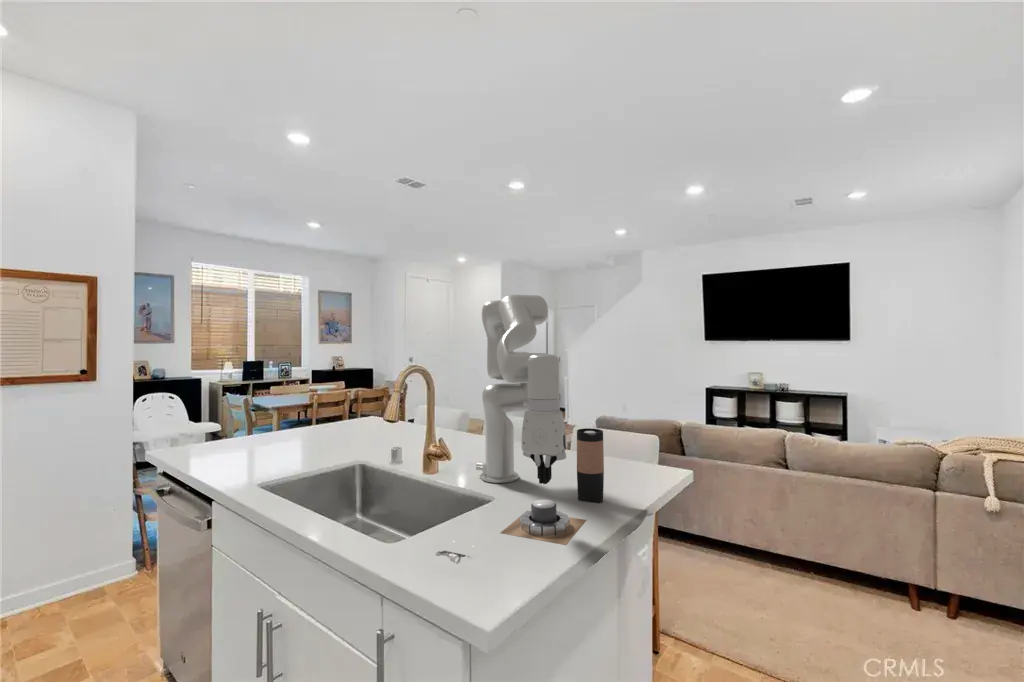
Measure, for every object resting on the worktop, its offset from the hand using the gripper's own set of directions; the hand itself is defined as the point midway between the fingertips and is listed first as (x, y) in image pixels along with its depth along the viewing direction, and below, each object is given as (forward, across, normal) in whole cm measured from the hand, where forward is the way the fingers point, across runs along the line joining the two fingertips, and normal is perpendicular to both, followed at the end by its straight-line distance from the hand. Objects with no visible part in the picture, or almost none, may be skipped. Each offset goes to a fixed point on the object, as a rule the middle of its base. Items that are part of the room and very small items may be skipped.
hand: (544, 482), depth 112 cm
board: (+12, 0, 0) cm, 12 cm away
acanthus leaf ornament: (+12, -14, -19) cm, 26 cm away
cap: (+10, 0, 0) cm, 11 cm away
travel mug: (+12, +4, +26) cm, 29 cm away
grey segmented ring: (+10, 0, 0) cm, 11 cm away
